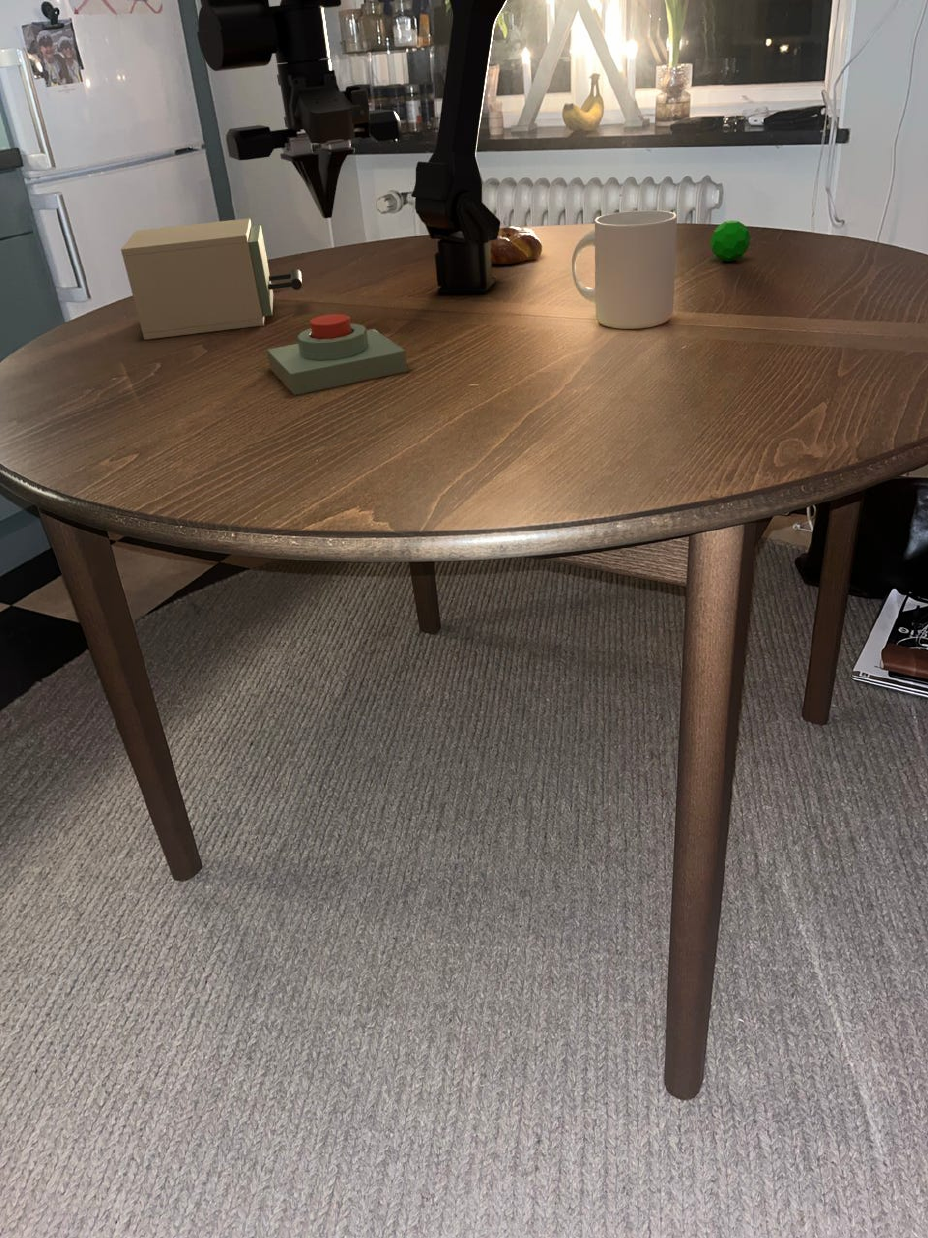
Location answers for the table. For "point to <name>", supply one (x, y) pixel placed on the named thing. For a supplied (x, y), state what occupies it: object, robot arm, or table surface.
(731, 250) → the polyhedron
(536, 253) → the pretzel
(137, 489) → the table surface
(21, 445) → the table surface
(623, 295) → the mug
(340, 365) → the control block
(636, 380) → the table surface
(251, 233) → the drawer
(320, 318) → the button
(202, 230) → the tan box with sleeve
